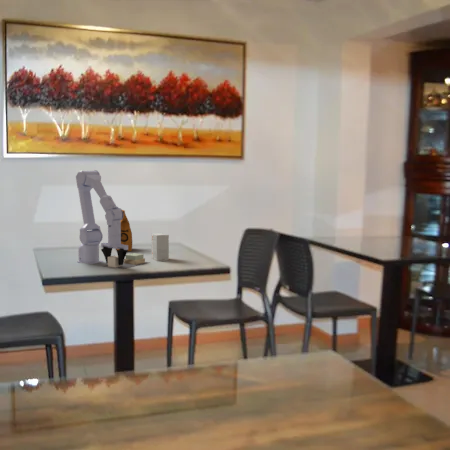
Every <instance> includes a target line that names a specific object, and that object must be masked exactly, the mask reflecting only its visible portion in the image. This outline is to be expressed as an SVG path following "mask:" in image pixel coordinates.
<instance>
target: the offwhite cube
mask: <svg viewBox="0 0 450 450" xmlns="http://www.w3.org/2000/svg"><path fill="white" fill-rule="evenodd" d="M107 265H108V267H107V268H112V267H120V266H122V265H119V261H118V255H111V256H109V257H108V264H107Z"/></svg>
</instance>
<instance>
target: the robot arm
mask: <svg viewBox="0 0 450 450" xmlns="http://www.w3.org/2000/svg"><path fill="white" fill-rule="evenodd" d="M75 180H76V186H77V187H76V188H77V190H78V196H79V197H78V198H79V202H80V210H81V214H82V220H83V221H82V223H83V225H82V226H81V227H80V228H79V242H80V243H81V244H80V245H79V246H78V261H77V263H80V264H81V263H82V264H90V265H93V264H98V263H102V262H104V261H103V260H100V250H101V252H102V253H103V256H104V260H105V263H106V265H108V257H109V256H112V252H113V249H116V253H117V256H118V261H119V265H123V262H124V259H126V255H128V254H127V253H128V252H129V251H128V245H123V244H121V220H122V219H123V211H122V210H123V209H122V208H120V207H119V206H118V205H116V203H115V201H114V200H113V198H112V196H111V195H108V194H107V192H106V189H105V188H104V185H103V183H102V176H101V174H100V171H98V170H95V169H94V170H81V169H80V170H78V172H77V173H76V175H75ZM92 189H93V190H94V191H95V193H96V194H97V196H98V197H99V203H100V205H101V207H102V209H103V211H104V213H105V215H104V216H105V220H106V226H107V242H103V243H102V241H103V239H104V238H103V237H104V236H103V232H102V230H101V227H100V226H99V225H98V224H97V223H96V219H95V213H94V207H93V201H92V195H91V190H92ZM100 247H101V249H100ZM117 249H120V250H117Z"/></svg>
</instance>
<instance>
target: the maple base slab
mask: <svg viewBox="0 0 450 450" xmlns="http://www.w3.org/2000/svg"><path fill="white" fill-rule="evenodd" d="M145 262H146V258H145V257H143V259H139V260H129V259H126V258H124V263H126V264H134V265H137V264H141V263H145Z"/></svg>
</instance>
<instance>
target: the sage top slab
mask: <svg viewBox="0 0 450 450" xmlns="http://www.w3.org/2000/svg"><path fill="white" fill-rule="evenodd" d="M143 258H144V254H143V253H134V252H133V253H132V252H131V253H128V254H126V256H125V259H129V260H139V259H143Z"/></svg>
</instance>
